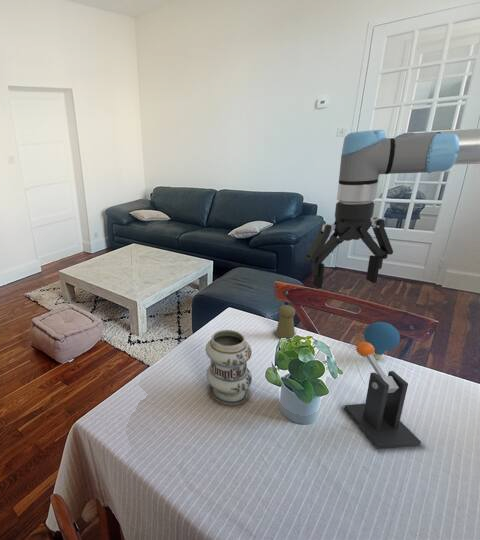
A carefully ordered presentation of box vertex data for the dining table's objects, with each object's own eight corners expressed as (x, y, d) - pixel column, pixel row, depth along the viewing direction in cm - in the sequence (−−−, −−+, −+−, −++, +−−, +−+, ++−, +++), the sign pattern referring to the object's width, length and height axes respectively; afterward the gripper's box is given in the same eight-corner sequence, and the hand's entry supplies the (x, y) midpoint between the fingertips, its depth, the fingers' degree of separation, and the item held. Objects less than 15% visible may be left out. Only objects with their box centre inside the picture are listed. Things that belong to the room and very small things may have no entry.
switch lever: (350, 347, 84) (356, 339, 81) (365, 346, 84) (371, 338, 81) (379, 394, 75) (386, 387, 73) (395, 393, 75) (403, 386, 73)
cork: (279, 328, 122) (281, 301, 118) (297, 333, 118) (299, 305, 114) (272, 336, 118) (274, 308, 114) (290, 341, 114) (293, 312, 110)
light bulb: (373, 347, 106) (379, 314, 102) (402, 361, 99) (409, 326, 94) (353, 355, 104) (359, 321, 99) (382, 370, 96) (389, 334, 92)
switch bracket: (344, 408, 85) (350, 363, 80) (380, 405, 85) (389, 359, 80) (377, 449, 74) (388, 398, 69) (420, 445, 73) (433, 395, 69)
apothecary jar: (218, 373, 103) (217, 321, 97) (258, 388, 95) (260, 333, 89) (198, 396, 95) (196, 341, 88) (240, 414, 87) (241, 356, 81)
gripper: (397, 193, 82) (383, 273, 90) (293, 204, 83) (288, 283, 91) (422, 197, 75) (405, 284, 83) (309, 210, 76) (302, 294, 84)
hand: (344, 283), depth 87 cm, fingers open, 13 cm apart
